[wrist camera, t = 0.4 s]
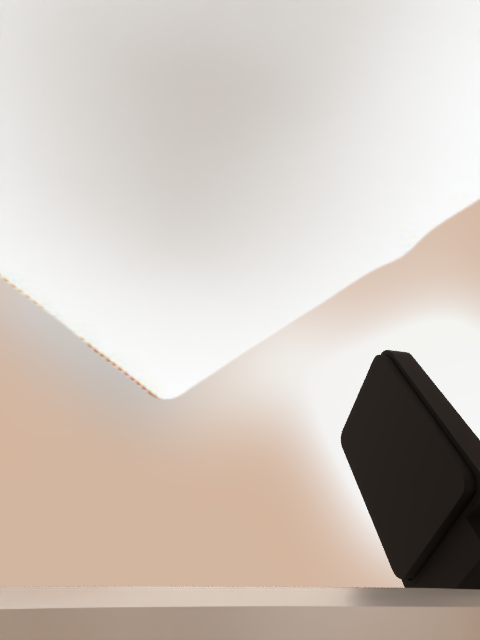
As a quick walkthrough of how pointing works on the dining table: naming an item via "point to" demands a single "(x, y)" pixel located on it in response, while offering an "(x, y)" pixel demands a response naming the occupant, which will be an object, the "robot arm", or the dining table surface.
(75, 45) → the dining table surface
